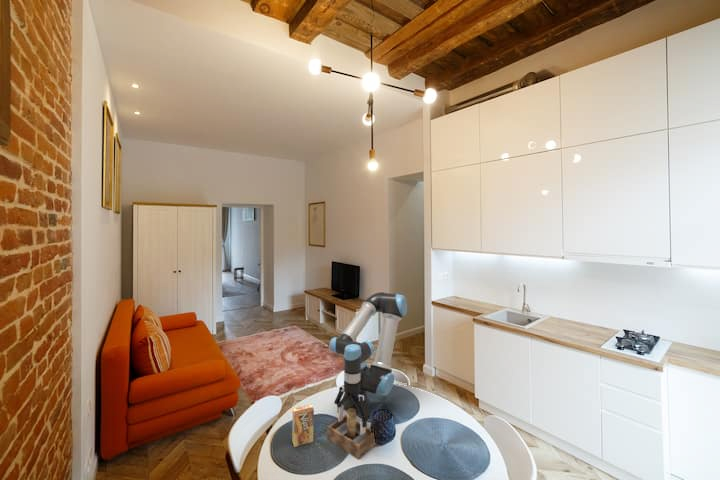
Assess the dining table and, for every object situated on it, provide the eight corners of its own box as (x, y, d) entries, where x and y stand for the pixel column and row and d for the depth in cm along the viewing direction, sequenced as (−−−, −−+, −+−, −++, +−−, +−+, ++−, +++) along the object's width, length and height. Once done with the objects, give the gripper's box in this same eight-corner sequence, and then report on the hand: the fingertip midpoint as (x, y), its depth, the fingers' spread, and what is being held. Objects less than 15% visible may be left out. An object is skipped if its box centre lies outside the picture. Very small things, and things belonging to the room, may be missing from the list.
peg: (344, 441, 135) (345, 411, 135) (350, 437, 138) (351, 407, 138) (351, 445, 132) (351, 414, 132) (357, 441, 135) (357, 410, 135)
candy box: (310, 436, 138) (311, 403, 138) (313, 442, 134) (314, 408, 134) (291, 441, 134) (292, 408, 134) (294, 448, 130) (294, 413, 130)
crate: (327, 438, 137) (327, 426, 136) (345, 426, 146) (345, 415, 146) (358, 459, 124) (358, 446, 124) (375, 444, 133) (376, 432, 133)
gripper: (327, 374, 140) (326, 419, 140) (368, 393, 124) (367, 443, 124) (338, 369, 146) (337, 412, 146) (379, 386, 129) (378, 435, 129)
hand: (351, 426), depth 135 cm, fingers open, 13 cm apart
